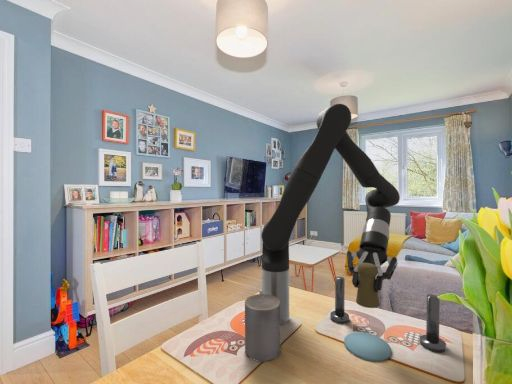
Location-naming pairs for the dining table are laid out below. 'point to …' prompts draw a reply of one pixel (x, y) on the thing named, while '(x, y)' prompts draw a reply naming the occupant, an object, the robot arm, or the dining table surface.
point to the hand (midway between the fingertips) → (365, 288)
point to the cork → (367, 286)
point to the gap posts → (432, 319)
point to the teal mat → (367, 346)
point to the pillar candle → (262, 327)
